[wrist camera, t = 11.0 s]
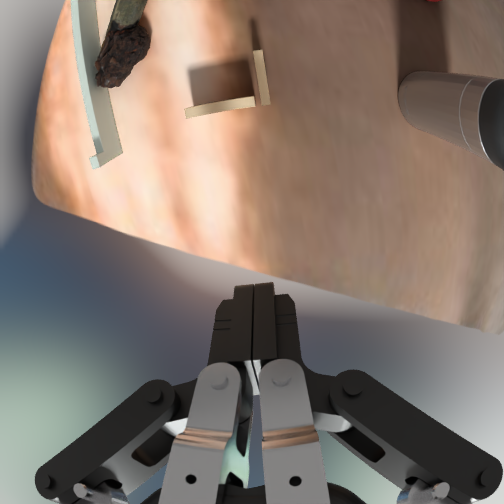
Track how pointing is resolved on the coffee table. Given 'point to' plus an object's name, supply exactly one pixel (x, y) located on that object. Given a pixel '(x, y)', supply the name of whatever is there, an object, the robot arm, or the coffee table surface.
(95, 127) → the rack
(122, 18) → the dark elongated piece
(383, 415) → the robot arm
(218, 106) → the socket block
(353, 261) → the coffee table surface
